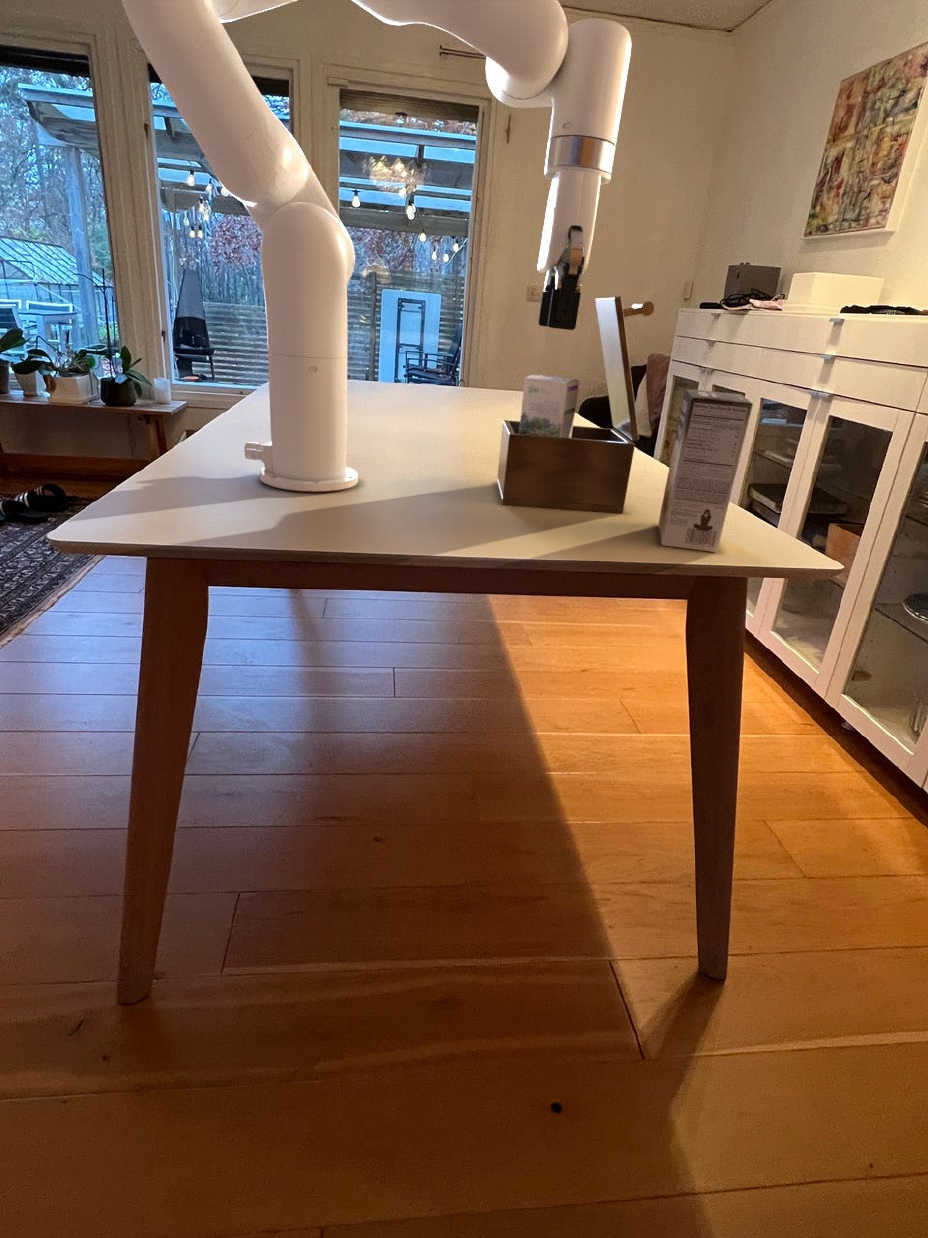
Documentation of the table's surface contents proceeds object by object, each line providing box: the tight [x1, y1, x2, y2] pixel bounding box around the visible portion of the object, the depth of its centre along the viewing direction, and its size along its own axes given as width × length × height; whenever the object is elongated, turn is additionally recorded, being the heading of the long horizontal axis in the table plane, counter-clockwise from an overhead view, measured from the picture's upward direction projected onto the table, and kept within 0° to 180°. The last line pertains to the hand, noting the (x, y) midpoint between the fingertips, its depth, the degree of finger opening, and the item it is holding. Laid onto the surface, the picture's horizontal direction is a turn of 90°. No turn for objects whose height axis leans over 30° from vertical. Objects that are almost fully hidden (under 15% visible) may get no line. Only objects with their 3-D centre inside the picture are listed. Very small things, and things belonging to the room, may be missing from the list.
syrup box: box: [519, 374, 580, 438], centre depth 90 cm, size 6×6×14 cm
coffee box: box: [658, 389, 754, 553], centre depth 77 cm, size 9×6×16 cm
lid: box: [595, 295, 656, 442], centre depth 87 cm, size 16×12×5 cm
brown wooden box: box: [496, 419, 636, 514], centre depth 92 cm, size 16×12×9 cm
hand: (555, 327), depth 85 cm, fingers open, 9 cm apart
